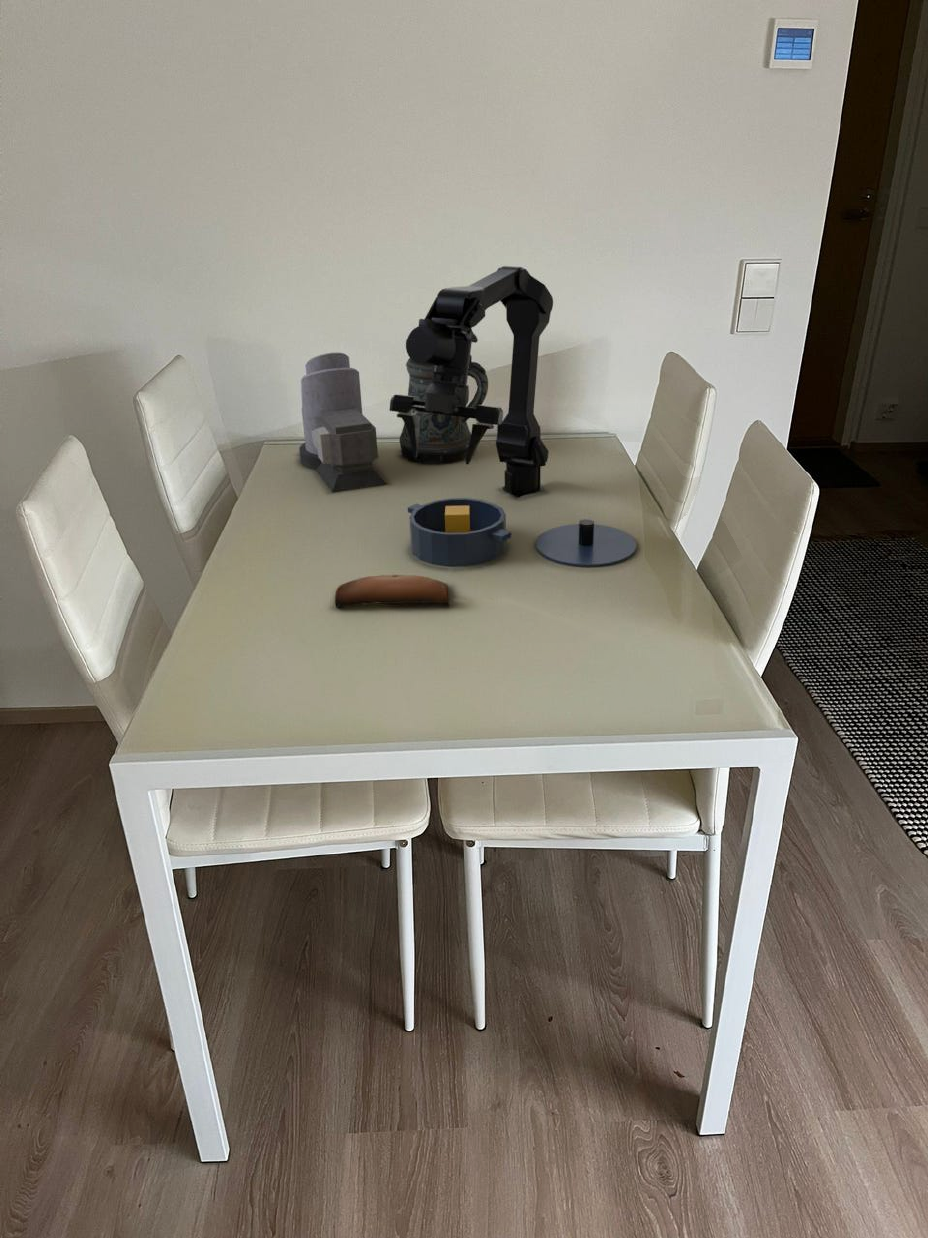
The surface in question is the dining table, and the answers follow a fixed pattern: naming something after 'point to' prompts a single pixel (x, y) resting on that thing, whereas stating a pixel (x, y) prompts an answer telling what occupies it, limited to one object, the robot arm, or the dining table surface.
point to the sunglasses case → (391, 590)
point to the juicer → (337, 425)
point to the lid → (586, 545)
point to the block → (457, 519)
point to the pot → (458, 547)
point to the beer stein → (440, 419)
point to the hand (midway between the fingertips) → (441, 460)
